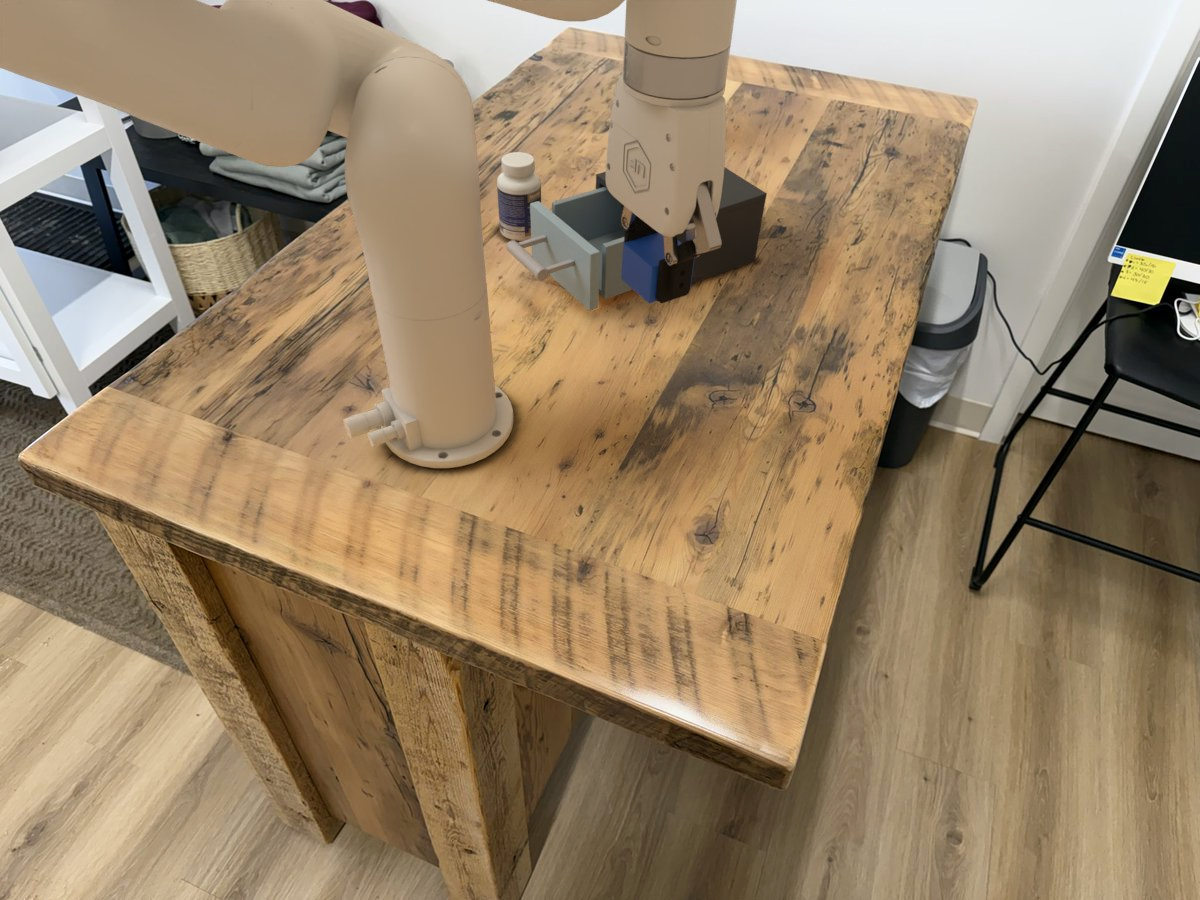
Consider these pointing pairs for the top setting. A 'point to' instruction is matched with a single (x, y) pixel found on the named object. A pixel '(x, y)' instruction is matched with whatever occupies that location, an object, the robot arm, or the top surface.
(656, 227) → the robot arm
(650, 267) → the matte blue toy brick
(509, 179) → the pill bottle
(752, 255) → the small storage cabinet
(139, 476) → the top surface
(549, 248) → the drawer
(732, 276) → the top surface
